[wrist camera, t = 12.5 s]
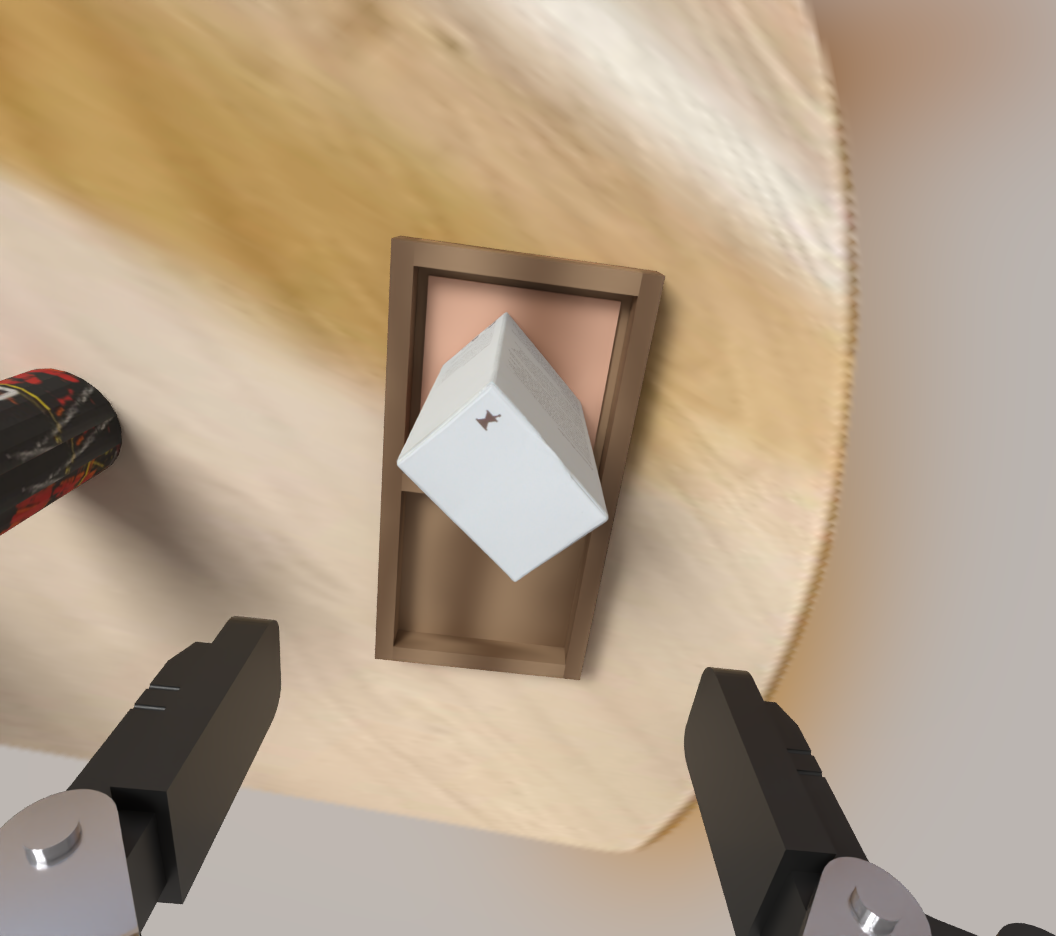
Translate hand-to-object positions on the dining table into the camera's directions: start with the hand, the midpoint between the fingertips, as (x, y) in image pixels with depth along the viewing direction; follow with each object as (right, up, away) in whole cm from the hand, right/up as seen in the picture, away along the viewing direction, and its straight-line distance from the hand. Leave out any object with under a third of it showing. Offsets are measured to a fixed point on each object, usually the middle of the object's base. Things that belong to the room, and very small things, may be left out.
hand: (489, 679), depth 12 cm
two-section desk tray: (-1, +3, +21) cm, 22 cm away
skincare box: (0, +8, +19) cm, 21 cm away
